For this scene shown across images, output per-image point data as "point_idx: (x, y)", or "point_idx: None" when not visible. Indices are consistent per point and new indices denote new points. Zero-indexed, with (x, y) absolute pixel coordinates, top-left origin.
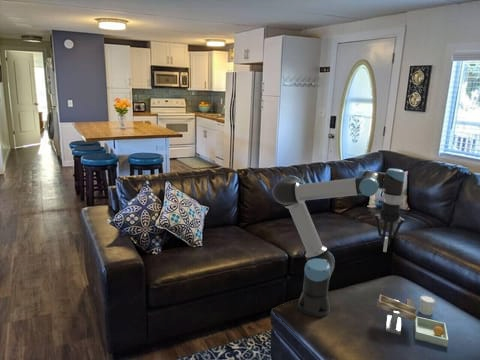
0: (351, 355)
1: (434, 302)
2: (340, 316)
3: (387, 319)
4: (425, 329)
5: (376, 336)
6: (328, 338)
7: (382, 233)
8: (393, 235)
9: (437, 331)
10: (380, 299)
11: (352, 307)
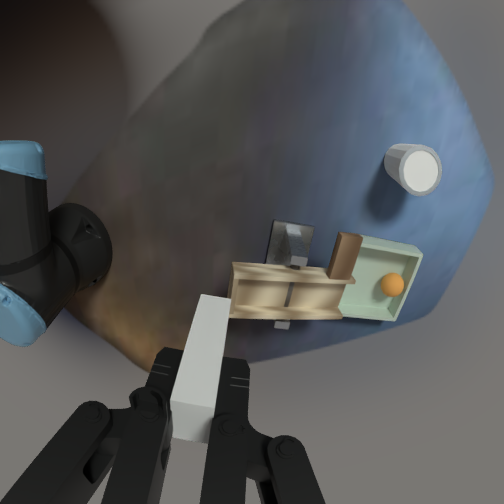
0: None
1: (434, 189)
2: (141, 261)
3: (270, 248)
4: (367, 263)
5: None
6: (135, 342)
7: (123, 439)
8: (261, 494)
9: (387, 295)
10: (233, 306)
11: (168, 203)
